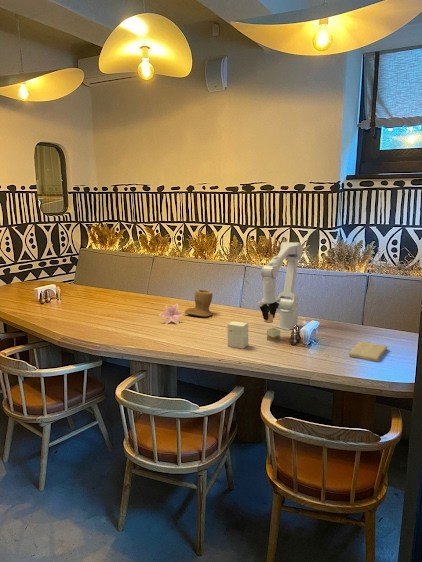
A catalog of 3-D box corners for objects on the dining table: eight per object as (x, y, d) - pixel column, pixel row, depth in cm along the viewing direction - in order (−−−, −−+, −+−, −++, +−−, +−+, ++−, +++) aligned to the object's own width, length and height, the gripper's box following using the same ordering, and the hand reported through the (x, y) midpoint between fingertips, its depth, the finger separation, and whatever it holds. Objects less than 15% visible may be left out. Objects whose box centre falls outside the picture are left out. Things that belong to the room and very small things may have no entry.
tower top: (273, 333, 198) (273, 328, 197) (280, 335, 194) (280, 330, 193) (266, 334, 195) (266, 329, 195) (273, 337, 191) (273, 332, 191)
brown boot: (216, 314, 241) (216, 289, 238) (205, 319, 231) (204, 293, 228) (196, 311, 249) (195, 286, 246) (183, 315, 239) (183, 290, 237)
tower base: (271, 338, 198) (272, 333, 198) (280, 339, 195) (280, 334, 195) (267, 340, 195) (267, 335, 194) (275, 342, 192) (275, 337, 191)
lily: (156, 324, 226) (157, 311, 220) (167, 311, 235) (168, 299, 229) (175, 332, 223) (176, 320, 217) (185, 319, 232) (187, 307, 226)
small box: (248, 345, 188) (248, 323, 186) (243, 349, 183) (243, 326, 181) (233, 342, 192) (232, 320, 190) (227, 346, 187) (227, 323, 185)
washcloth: (388, 350, 180) (388, 343, 179) (378, 363, 165) (378, 356, 165) (360, 345, 187) (360, 339, 186) (348, 358, 172) (348, 351, 172)
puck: (268, 320, 199) (268, 313, 199) (274, 321, 196) (274, 314, 196) (262, 321, 197) (262, 314, 196) (269, 323, 194) (269, 316, 193)
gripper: (272, 287, 201) (272, 314, 204) (252, 291, 192) (252, 319, 194) (284, 289, 196) (283, 317, 199) (263, 294, 187) (263, 322, 189)
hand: (268, 318), depth 196 cm, fingers closed on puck, 4 cm apart
